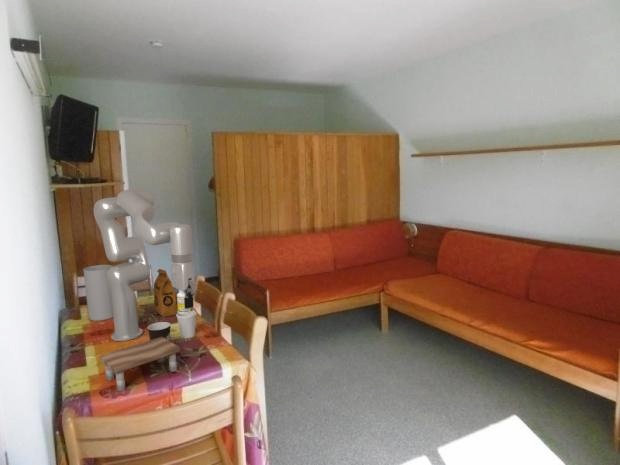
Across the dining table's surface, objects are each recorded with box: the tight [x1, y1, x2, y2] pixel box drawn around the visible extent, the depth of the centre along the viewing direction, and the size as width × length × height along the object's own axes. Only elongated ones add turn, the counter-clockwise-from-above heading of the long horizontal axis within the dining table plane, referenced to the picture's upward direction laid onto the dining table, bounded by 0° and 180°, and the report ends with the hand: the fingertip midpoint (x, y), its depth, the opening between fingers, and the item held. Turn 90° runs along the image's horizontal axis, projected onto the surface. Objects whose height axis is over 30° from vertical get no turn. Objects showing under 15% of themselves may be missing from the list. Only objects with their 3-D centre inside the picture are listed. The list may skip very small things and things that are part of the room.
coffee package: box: [153, 268, 178, 318], centre depth 205 cm, size 10×12×22 cm
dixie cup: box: [175, 310, 197, 339], centre depth 176 cm, size 8×8×10 cm
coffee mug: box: [147, 321, 172, 342], centre depth 164 cm, size 12×9×10 cm
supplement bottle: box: [176, 287, 194, 314], centre depth 153 cm, size 5×5×10 cm
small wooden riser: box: [99, 337, 181, 392], centre depth 143 cm, size 14×22×8 cm, turn 135°
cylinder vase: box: [83, 264, 114, 322], centre depth 201 cm, size 12×12×25 cm
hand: (185, 305), depth 153 cm, fingers closed on supplement bottle, 5 cm apart
